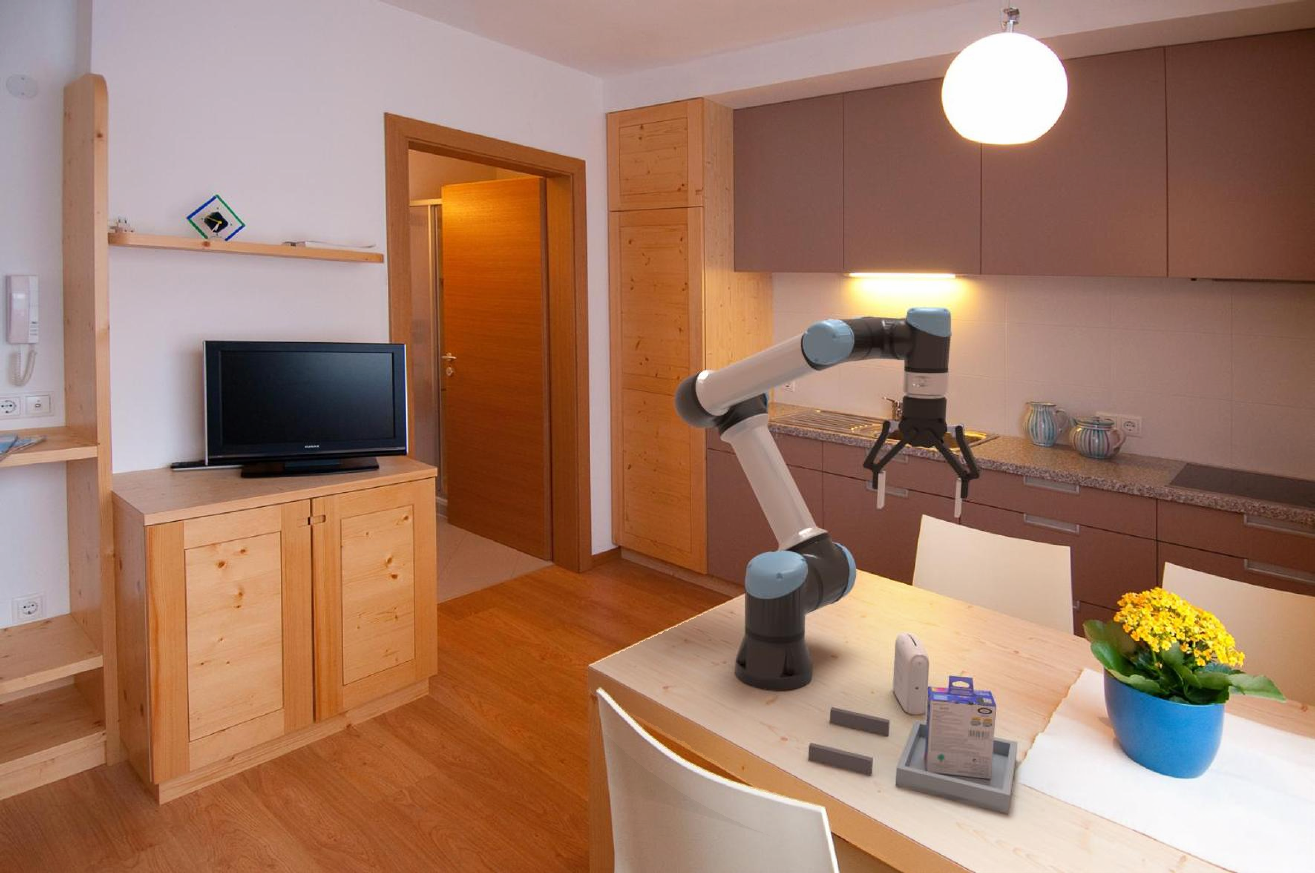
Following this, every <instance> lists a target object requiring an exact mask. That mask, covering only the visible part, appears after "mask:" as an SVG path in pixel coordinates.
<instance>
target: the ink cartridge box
mask: <svg viewBox="0 0 1315 873" xmlns="http://www.w3.org/2000/svg"><path fill="white" fill-rule="evenodd" d="M957 682H963V683H966V684H968V687H967V686H966V687H965V686H956V685H953V683H957ZM994 698H995V697H994V695H993V693H992V691H991V690H982V689H974V680H973V677H969V676H968V677H967V676H956V675H949V676H948V687H939V686H931V685H928V690H927V704H926V721H925V722H926V740H925V754H924V762H925V769H926V771H927V772H931V773H941V774H950V775H959V776H968V777H977V778H986V779H991V772H992V758H993V743H994V737H995V729H996V728H995V727H996V716H997V715H996V714H997V704H996V701H995V699H994Z"/></svg>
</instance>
